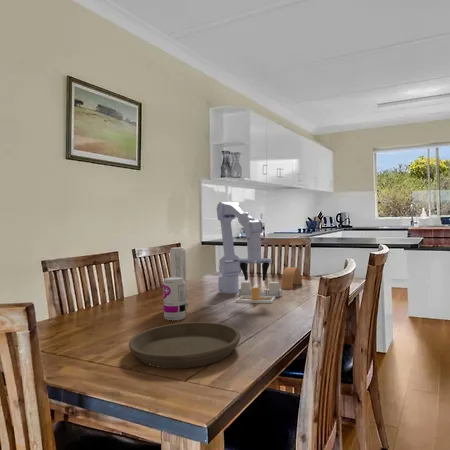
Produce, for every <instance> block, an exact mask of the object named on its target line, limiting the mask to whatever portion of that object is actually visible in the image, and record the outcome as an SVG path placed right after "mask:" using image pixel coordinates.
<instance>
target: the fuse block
mask: <svg viewBox="0 0 450 450" xmlns="http://www.w3.org/2000/svg"><path fill="white" fill-rule="evenodd" d="M282 295H283V292H282V289H281V288H279V294H269V288H264V291H261V292H260V296H275V298H280V297H282ZM240 296H252V288H251V289H250V294H245V293H241V287H239V292H238V298H239V297H240Z"/></svg>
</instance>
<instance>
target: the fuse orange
mask: <svg viewBox="0 0 450 450" xmlns="http://www.w3.org/2000/svg"><path fill="white" fill-rule="evenodd" d="M251 289H252V298H251V300H261V299H260V286H259V285H256V286H255V285H254V286H251Z"/></svg>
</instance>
